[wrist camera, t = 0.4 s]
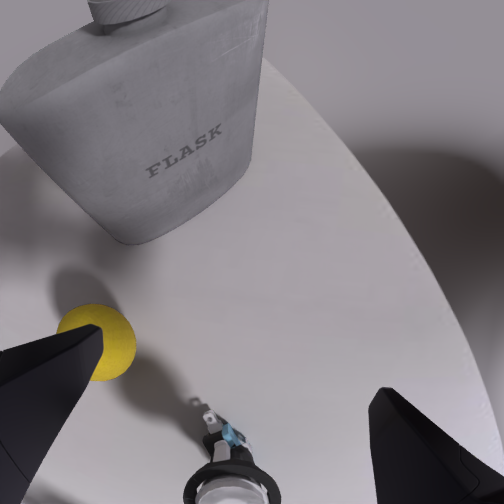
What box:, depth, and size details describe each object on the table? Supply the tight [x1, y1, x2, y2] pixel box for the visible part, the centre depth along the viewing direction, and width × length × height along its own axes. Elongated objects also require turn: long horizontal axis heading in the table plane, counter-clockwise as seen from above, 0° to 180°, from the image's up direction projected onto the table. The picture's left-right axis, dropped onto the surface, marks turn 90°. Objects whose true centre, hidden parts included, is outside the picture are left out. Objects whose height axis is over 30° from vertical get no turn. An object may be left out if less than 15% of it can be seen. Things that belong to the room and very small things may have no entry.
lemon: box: [56, 304, 136, 381], centre depth 18 cm, size 6×6×8 cm
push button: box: [183, 409, 281, 504], centre depth 16 cm, size 7×5×10 cm
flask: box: [0, 0, 269, 245], centre depth 16 cm, size 15×6×20 cm, turn 129°
